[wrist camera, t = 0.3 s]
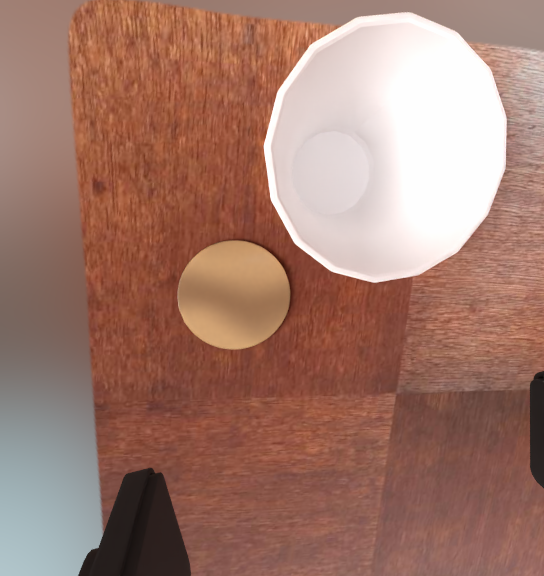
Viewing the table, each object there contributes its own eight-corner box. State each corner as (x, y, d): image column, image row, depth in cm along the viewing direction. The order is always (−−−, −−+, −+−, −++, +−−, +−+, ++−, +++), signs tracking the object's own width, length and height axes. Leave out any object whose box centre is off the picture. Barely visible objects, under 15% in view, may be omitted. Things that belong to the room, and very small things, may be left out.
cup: (221, 212, 28) (220, 217, 17) (293, 52, 26) (343, -53, 15) (357, 278, 30) (429, 319, 20) (431, 138, 29) (556, 99, 18)
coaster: (165, 252, 28) (164, 253, 28) (279, 230, 29) (280, 230, 28) (192, 358, 30) (192, 360, 30) (297, 334, 31) (298, 336, 31)
